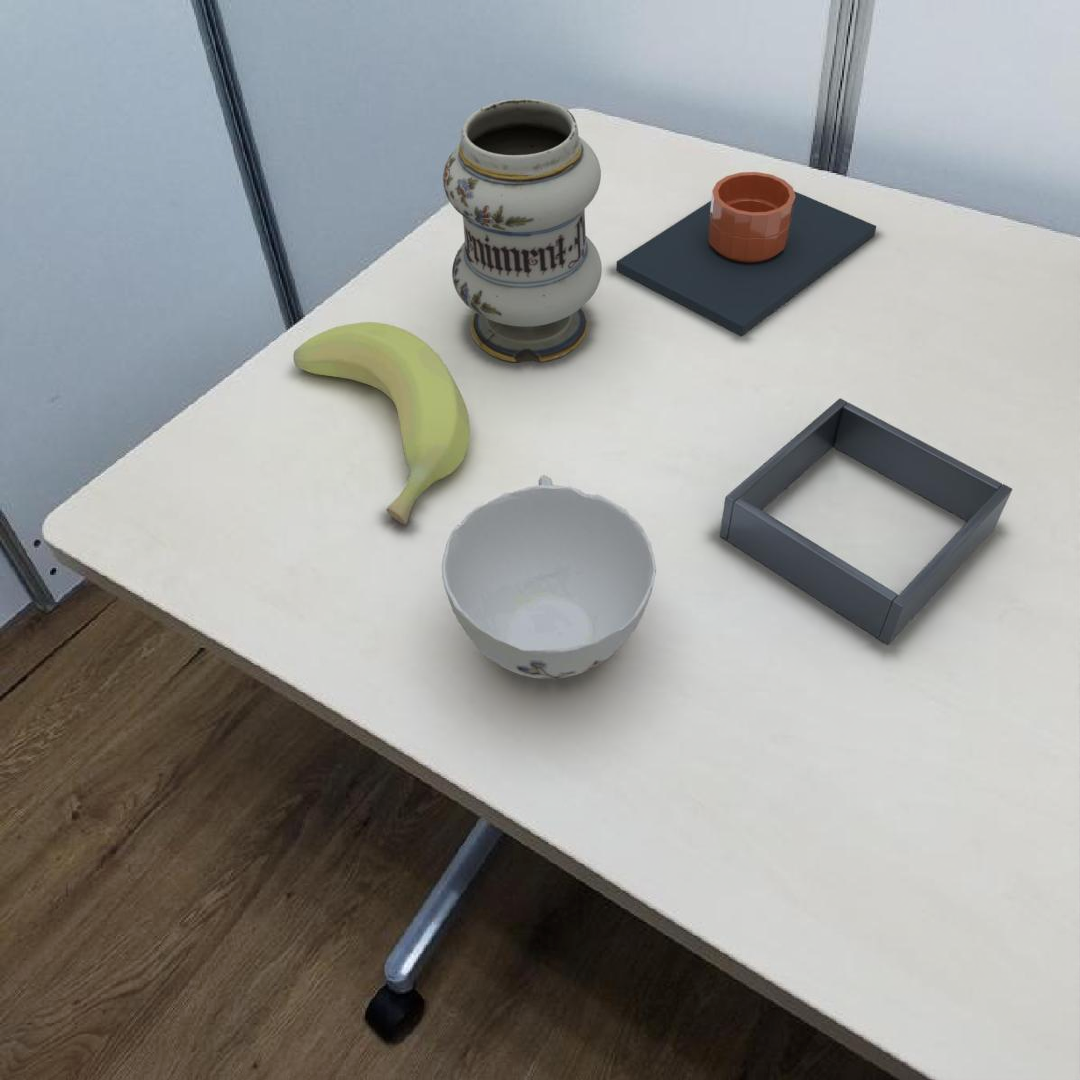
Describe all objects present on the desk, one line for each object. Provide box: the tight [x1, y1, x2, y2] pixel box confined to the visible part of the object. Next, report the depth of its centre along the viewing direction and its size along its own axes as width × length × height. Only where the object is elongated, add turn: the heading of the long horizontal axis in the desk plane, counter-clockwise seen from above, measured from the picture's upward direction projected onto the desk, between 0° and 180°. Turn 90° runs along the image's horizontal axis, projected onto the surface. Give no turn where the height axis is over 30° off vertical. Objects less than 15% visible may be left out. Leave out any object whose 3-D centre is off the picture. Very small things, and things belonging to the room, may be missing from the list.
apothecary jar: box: [442, 97, 603, 363], centre depth 79 cm, size 12×12×18 cm
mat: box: [615, 190, 877, 337], centre depth 92 cm, size 20×14×1 cm
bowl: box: [708, 171, 795, 263], centre depth 90 cm, size 7×7×5 cm
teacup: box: [441, 474, 657, 680], centre depth 63 cm, size 15×12×8 cm
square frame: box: [719, 397, 1013, 646], centre depth 68 cm, size 13×13×4 cm
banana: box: [292, 321, 471, 525], centre depth 77 cm, size 14×6×20 cm
